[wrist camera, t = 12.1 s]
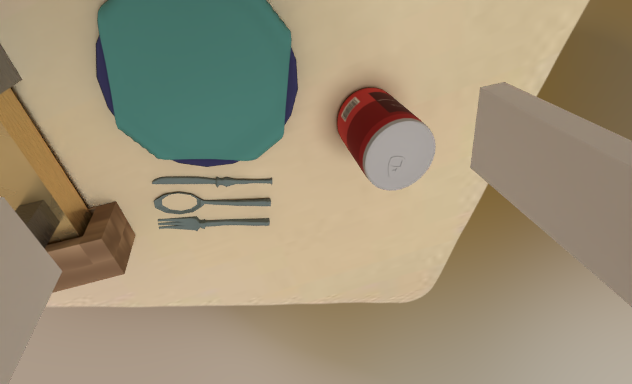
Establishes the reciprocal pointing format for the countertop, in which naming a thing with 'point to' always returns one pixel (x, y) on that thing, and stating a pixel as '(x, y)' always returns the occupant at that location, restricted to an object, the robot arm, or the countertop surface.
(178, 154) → the cutlery set
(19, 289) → the robot arm
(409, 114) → the canned food
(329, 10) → the countertop surface
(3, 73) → the sleeve
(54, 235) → the gray and tan bar
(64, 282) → the socket block
